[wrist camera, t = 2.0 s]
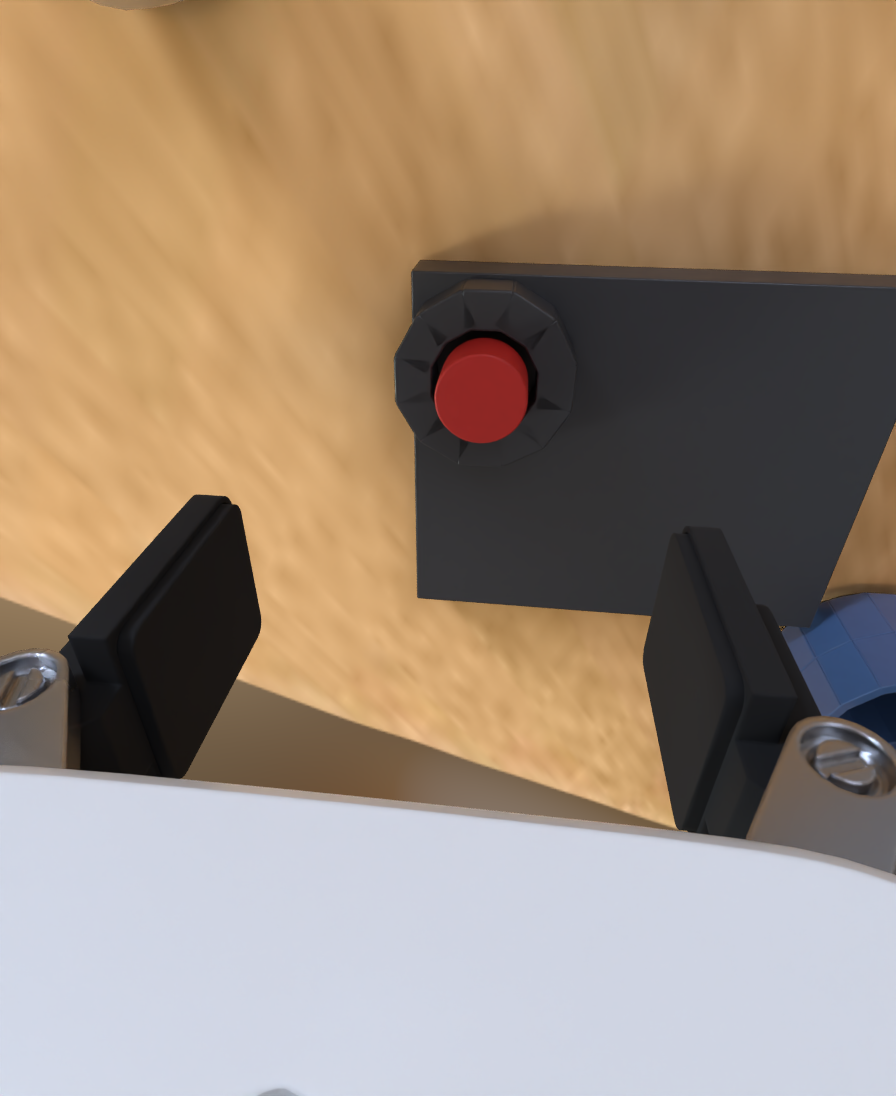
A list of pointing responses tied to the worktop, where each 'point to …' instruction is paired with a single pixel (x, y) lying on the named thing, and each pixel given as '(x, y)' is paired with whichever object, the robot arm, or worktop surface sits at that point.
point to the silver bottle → (135, 3)
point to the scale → (648, 428)
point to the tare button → (482, 390)
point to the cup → (851, 660)
